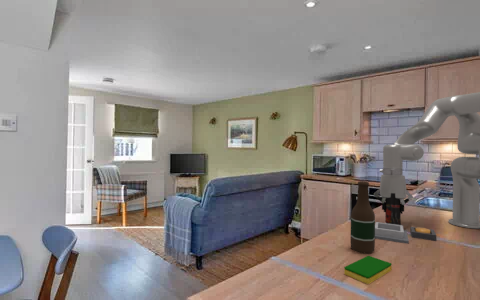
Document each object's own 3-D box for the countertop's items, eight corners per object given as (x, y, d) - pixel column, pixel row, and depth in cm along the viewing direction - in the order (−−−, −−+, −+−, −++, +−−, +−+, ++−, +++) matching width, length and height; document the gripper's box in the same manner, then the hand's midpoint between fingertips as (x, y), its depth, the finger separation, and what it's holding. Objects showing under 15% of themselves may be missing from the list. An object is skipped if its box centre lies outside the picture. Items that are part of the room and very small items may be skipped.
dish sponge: (343, 275, 76) (343, 266, 76) (368, 262, 84) (368, 255, 84) (368, 286, 70) (368, 276, 70) (392, 271, 78) (392, 263, 78)
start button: (414, 231, 111) (415, 226, 111) (429, 233, 109) (429, 228, 109) (415, 235, 107) (416, 230, 107) (431, 237, 104) (431, 232, 104)
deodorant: (402, 227, 116) (402, 193, 116) (388, 227, 117) (387, 193, 117) (397, 223, 122) (397, 191, 121) (383, 223, 123) (383, 190, 123)
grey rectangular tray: (372, 228, 118) (372, 220, 118) (406, 233, 111) (406, 224, 111) (369, 237, 106) (370, 228, 106) (408, 243, 99) (408, 234, 99)
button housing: (410, 231, 113) (410, 226, 113) (433, 234, 109) (433, 229, 109) (411, 237, 106) (411, 231, 106) (436, 240, 102) (436, 235, 102)
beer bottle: (373, 247, 96) (373, 180, 95) (376, 255, 88) (377, 183, 88) (349, 244, 98) (350, 179, 98) (351, 252, 91) (352, 182, 90)
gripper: (370, 172, 120) (371, 212, 120) (416, 173, 111) (416, 216, 112) (371, 170, 126) (372, 208, 127) (415, 172, 118) (415, 212, 118)
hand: (392, 211), depth 119 cm, fingers closed on deodorant, 5 cm apart
